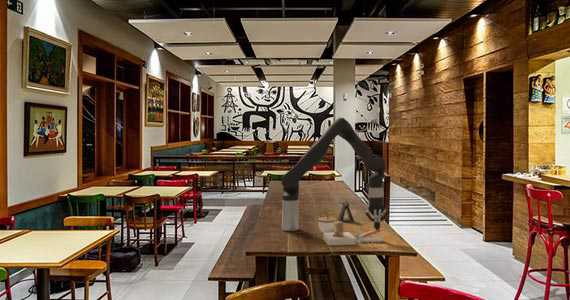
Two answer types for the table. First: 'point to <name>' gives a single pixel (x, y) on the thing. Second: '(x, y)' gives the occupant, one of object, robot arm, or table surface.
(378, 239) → the lever bracket
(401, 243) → the table surface
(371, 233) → the latch lever
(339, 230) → the peg
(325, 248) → the table surface
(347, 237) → the socket block
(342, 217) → the phone stand
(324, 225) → the lidded jar
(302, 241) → the table surface
